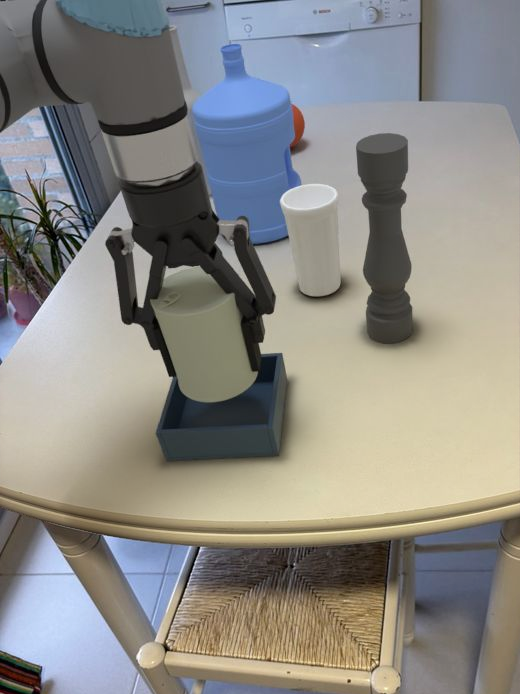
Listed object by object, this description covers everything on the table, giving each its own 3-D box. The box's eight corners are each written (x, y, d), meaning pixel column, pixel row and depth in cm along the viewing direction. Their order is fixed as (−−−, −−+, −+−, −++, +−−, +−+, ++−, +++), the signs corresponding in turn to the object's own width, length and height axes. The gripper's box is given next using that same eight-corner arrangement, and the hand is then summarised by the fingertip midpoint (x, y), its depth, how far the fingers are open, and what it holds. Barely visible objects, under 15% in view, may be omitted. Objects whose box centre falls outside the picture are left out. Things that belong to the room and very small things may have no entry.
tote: (166, 461, 75) (155, 433, 72) (187, 386, 84) (178, 359, 81) (279, 455, 73) (272, 427, 70) (287, 380, 83) (282, 352, 80)
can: (163, 378, 75) (131, 289, 67) (227, 341, 79) (204, 252, 70) (208, 414, 69) (178, 322, 61) (274, 373, 73) (255, 281, 65)
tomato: (253, 147, 141) (244, 98, 134) (296, 135, 143) (289, 86, 136) (270, 162, 134) (262, 111, 127) (315, 149, 136) (309, 98, 129)
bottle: (230, 187, 127) (195, 24, 108) (202, 199, 125) (161, 34, 105) (212, 178, 131) (175, 20, 112) (184, 190, 129) (142, 30, 109)
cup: (358, 283, 97) (350, 192, 87) (319, 308, 94) (307, 216, 84) (320, 267, 102) (309, 178, 92) (282, 290, 98) (267, 200, 88)
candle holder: (375, 314, 91) (364, 131, 74) (418, 319, 89) (416, 133, 72) (361, 340, 87) (345, 153, 70) (405, 346, 85) (401, 155, 68)
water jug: (246, 256, 107) (206, 71, 88) (204, 224, 117) (161, 51, 98) (324, 223, 112) (303, 41, 93) (278, 195, 122) (251, 26, 103)
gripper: (282, 140, 59) (311, 340, 75) (57, 163, 61) (132, 352, 77) (274, 175, 54) (308, 382, 69) (29, 199, 56) (115, 394, 72)
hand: (215, 366), depth 73 cm, fingers closed on can, 9 cm apart
